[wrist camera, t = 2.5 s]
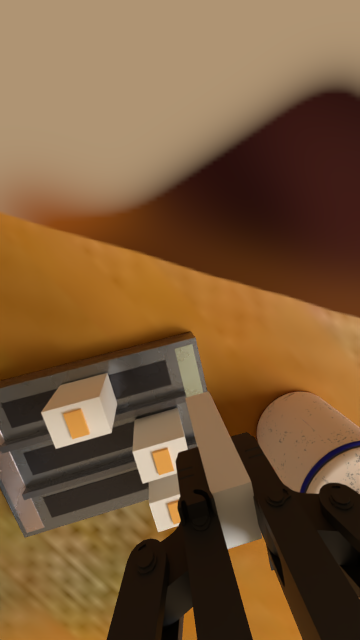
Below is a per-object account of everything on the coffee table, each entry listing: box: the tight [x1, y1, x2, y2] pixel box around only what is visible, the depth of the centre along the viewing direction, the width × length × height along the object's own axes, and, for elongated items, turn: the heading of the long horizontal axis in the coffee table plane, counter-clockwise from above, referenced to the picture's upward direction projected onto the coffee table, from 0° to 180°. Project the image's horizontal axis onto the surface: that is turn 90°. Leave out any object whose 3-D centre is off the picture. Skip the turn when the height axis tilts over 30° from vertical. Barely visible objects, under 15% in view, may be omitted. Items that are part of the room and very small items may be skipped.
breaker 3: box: [149, 473, 181, 532], centre depth 22 cm, size 4×3×4 cm
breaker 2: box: [132, 408, 188, 483], centre depth 21 cm, size 4×3×4 cm
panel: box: [0, 332, 207, 537], centre depth 24 cm, size 20×15×3 cm
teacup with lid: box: [257, 392, 360, 494], centre depth 23 cm, size 12×9×12 cm
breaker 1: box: [41, 373, 117, 449], centre depth 20 cm, size 4×3×4 cm
